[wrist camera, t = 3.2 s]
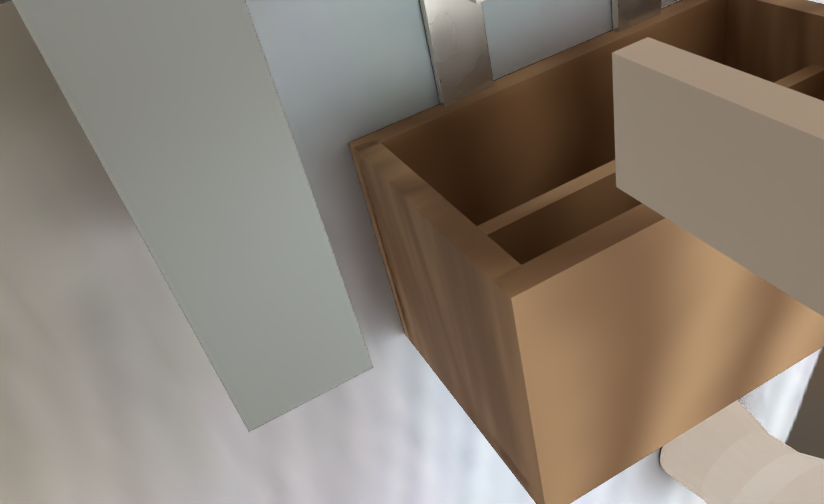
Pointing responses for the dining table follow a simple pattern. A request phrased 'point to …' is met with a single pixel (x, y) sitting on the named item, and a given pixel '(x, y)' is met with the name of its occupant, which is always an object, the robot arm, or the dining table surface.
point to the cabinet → (580, 257)
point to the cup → (742, 463)
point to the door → (210, 186)
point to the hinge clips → (467, 43)
